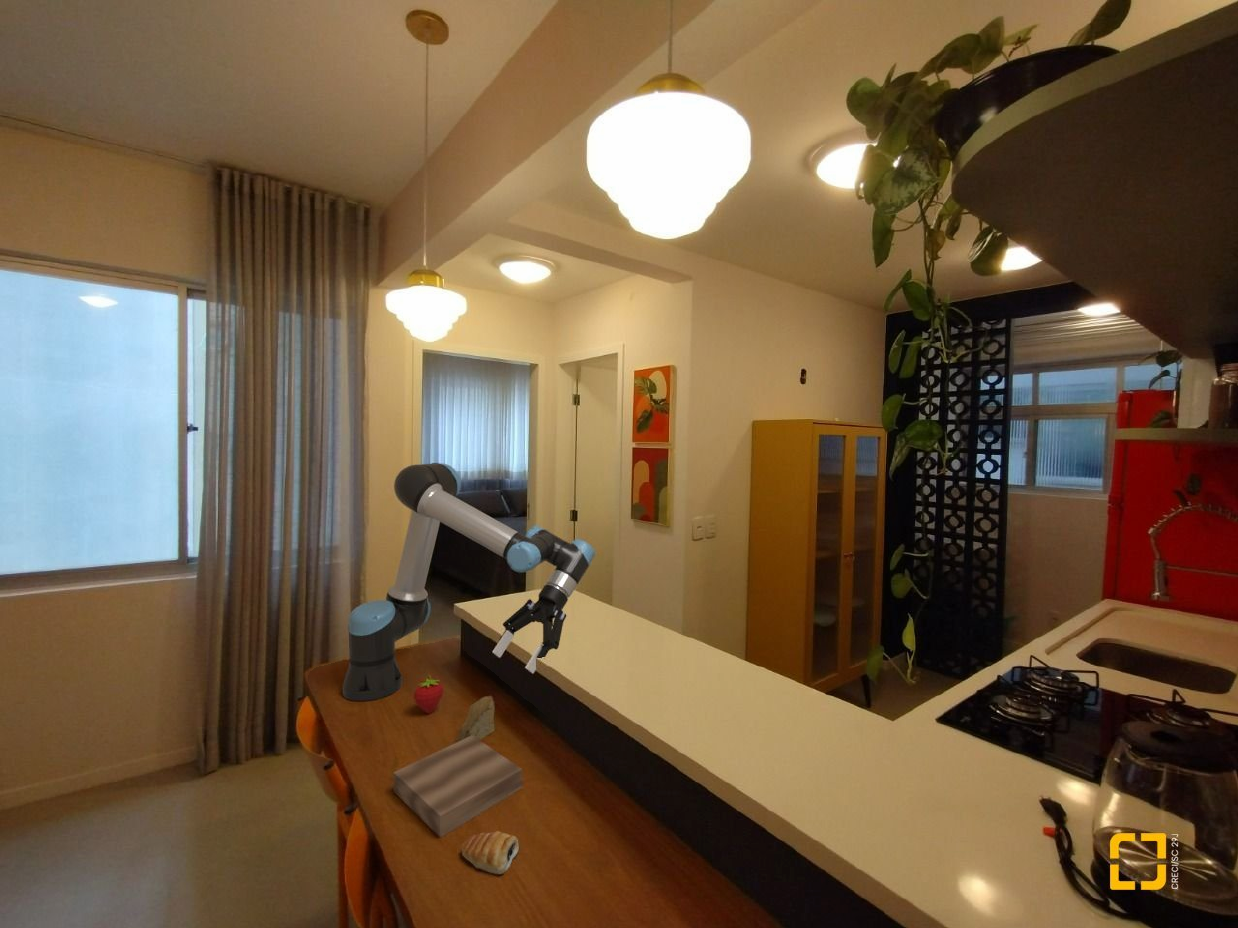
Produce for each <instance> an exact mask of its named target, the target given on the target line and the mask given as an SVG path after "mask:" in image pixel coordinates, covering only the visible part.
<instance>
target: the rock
mask: <svg viewBox="0 0 1238 928" xmlns="http://www.w3.org/2000/svg"><path fill="white" fill-rule="evenodd" d="M495 711H496V710H495V701H494V698H493V696H492V695H488V696H487V695H486V696H482V697H480V699H478V700H477V701H475V702H474V703H472V704H471V705H470V706H469V712H468V714H467V715H466V718H465V719H464V722H463V724H462V725H461V727H460V728H459V732H458V735H457V737H456V739H455V743H457V742H459V741H461V740H463V739H465V738H467V737H470V736H472V735H473V736H474V737H476V738H477V739H478V740H480V741H481V740H482V739H483V738H485V737H487V736H488V735H490V734H493V733H494V732H495V721H494V717H495Z"/></svg>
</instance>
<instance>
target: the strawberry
mask: <svg viewBox="0 0 1238 928" xmlns="http://www.w3.org/2000/svg"><path fill="white" fill-rule="evenodd" d="M427 675H428V676H429V678H430V679H428V678H426V680H425V682H421V683H418V687H417V688H416V689H415V690H414V694H413V699H414V702H415V703H416V705H417V706H418V707H419V708H420V709H421V710H423V711H424V712H425V713H426V714H432V713H433V711H434V709H436V707H437V706H438V705H439V703H440V701H441V699H442V698H443V694H444V686H443V684H442V683H440V681H441V680H440V679H435V680H434V679H432V677H431V675H430V674H429V673H428V674H427Z"/></svg>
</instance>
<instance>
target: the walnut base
mask: <svg viewBox="0 0 1238 928" xmlns="http://www.w3.org/2000/svg"><path fill="white" fill-rule="evenodd" d="M521 789H523V769H522V768H521V767H519V766H518V765H517V764H515V763H513V762H512V761H511V760H510V759H508V758H507V757H505V756H503V755H502V754H501V753H499V752H498V751H496V750H494V749H493V748H492V747H490V746H489V745H488V744H486V743H484V742H483V741H481V739H480V740H478V739H477V738H476V737H474V736H473V735H472V736H470V737H467V738H465V739H463V740H461V741H459V742H457V743H456V742H455V743H453V744H451V745H449V746H447V747H444V748H442V749H440V750H439V751H435V752H434V753H431V754H429V755H427V756H425V757H423V758H421V759H419V760H417V761H415V762H412V763H411V764H408V765H407V766H404V767H402V768H400V769H398V770H396V771H393V793H395V794H396V795H397V796H398V797H399V799H401V800H402V802H404V804H406V805H407V806H408V808H410V809H411V811H413V813H414V814H416V816H417V817H419V818H420V819H421V821H423V822H424V823H425V824H426V825H427V826H428V827H429V828H430V829H431V830H432V832H434V833H435V834H436V836H438V837H439V838H440V839H441V838H443V837H445V835H446V836H447V835H448V834H449V833H451V832H453V831H454V830H456V829H457V828H459V827H461V826H462V825H464V824H465V823H467V822H469V821H471V820H472V819H474V818H475V817H477V816H479V815H481V814H482V813H484V812H485V811H487V810H488V809H491V808H492V807H494V806H495V805H496V804H497V805H498V804H499V803H500V802H502V801H503V800H505V799H506V798H509V797H510V796H512V795H513V794H515V793H516V792H518V791H519V790H521Z"/></svg>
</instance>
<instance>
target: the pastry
mask: <svg viewBox="0 0 1238 928" xmlns="http://www.w3.org/2000/svg"><path fill="white" fill-rule="evenodd" d="M460 848H461V855H462V857H463V858H464V859H465V860H466V861H469V862H470V863H471V864H472V865H473V866H474V867H475V869H478V870H479V869H480V870H481V871H485V872H488V873H490V874H494V875H503V874H504V873H505V872H506V871H508V870H509V868H510V867H511V864H512V861H513V859H514V858H515V857H516V856H517V854H518V853H519V839H518V838H517V837H516V835H510V834H508V833H506V832H501V831H499V830H495V831H494V832H480V833H476V834H472V835H471V836H469V837H468V838H467V839H466V840H465V841H464V842H462V844H461V847H460Z"/></svg>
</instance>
